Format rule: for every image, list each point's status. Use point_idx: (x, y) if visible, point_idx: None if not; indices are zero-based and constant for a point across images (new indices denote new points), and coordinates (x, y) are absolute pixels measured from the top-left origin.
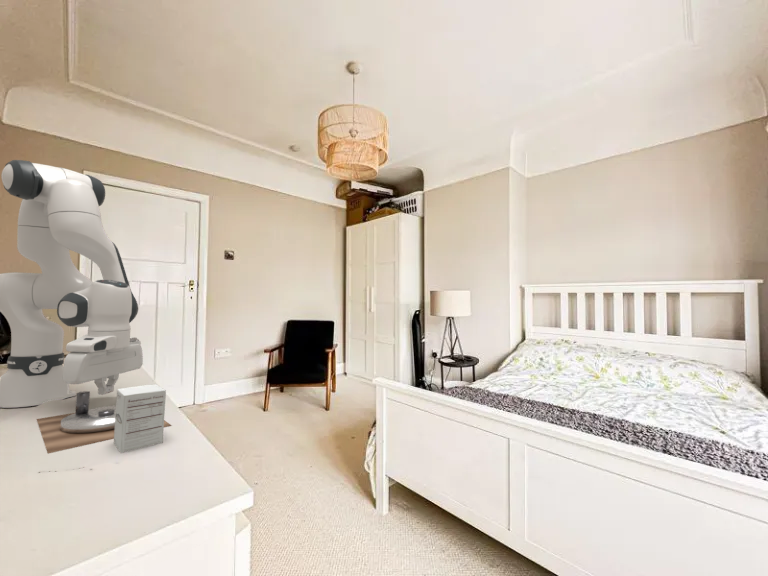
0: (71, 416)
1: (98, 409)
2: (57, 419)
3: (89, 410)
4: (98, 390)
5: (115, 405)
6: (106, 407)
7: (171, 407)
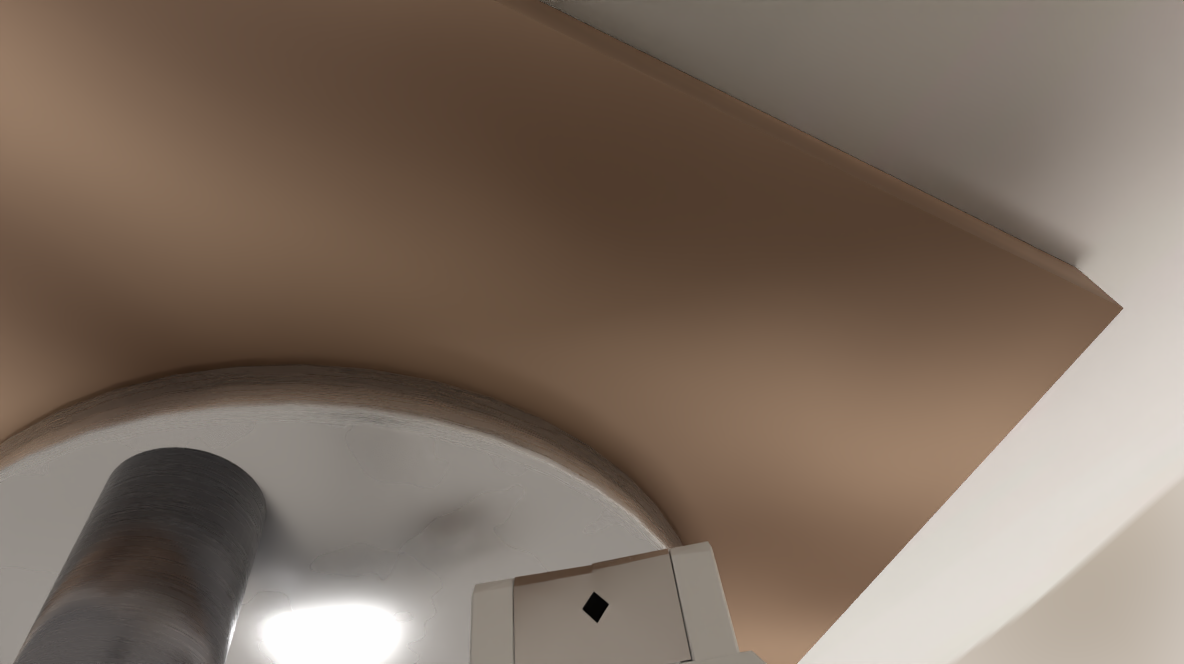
0: (30, 535)
1: (403, 524)
2: (17, 103)
3: (314, 473)
4: (474, 646)
5: (632, 529)
6: (513, 525)
7: (1067, 571)
